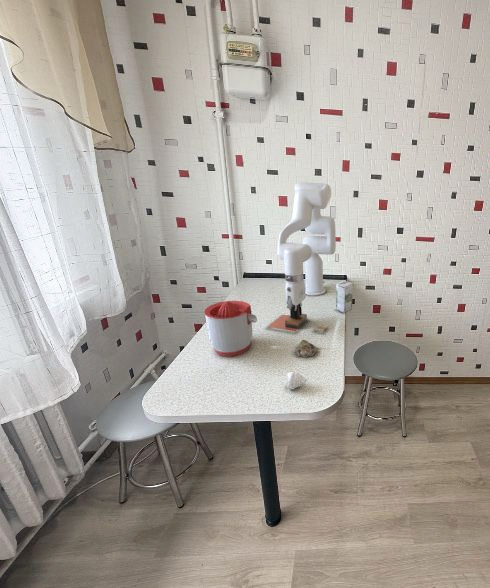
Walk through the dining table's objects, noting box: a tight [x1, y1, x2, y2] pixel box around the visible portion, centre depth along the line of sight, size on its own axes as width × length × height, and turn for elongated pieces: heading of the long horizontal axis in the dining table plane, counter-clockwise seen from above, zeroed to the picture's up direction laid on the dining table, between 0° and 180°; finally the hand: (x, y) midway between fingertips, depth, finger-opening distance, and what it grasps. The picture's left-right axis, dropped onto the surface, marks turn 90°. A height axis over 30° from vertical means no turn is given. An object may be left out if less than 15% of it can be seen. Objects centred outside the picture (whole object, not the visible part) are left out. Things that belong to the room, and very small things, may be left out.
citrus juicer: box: [203, 300, 258, 357], centre depth 123 cm, size 16×17×20 cm
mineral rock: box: [295, 339, 318, 358], centre depth 127 cm, size 11×4×8 cm
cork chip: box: [314, 324, 328, 332], centre depth 144 cm, size 4×4×2 cm
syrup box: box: [335, 280, 354, 314], centre depth 162 cm, size 6×6×14 cm
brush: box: [285, 304, 308, 330], centre depth 145 cm, size 9×6×9 cm, turn 167°
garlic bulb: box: [286, 371, 308, 390], centre depth 106 cm, size 6×6×5 cm
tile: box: [267, 314, 309, 332], centre depth 147 cm, size 13×13×1 cm
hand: (296, 316), depth 145 cm, fingers closed on brush, 3 cm apart
